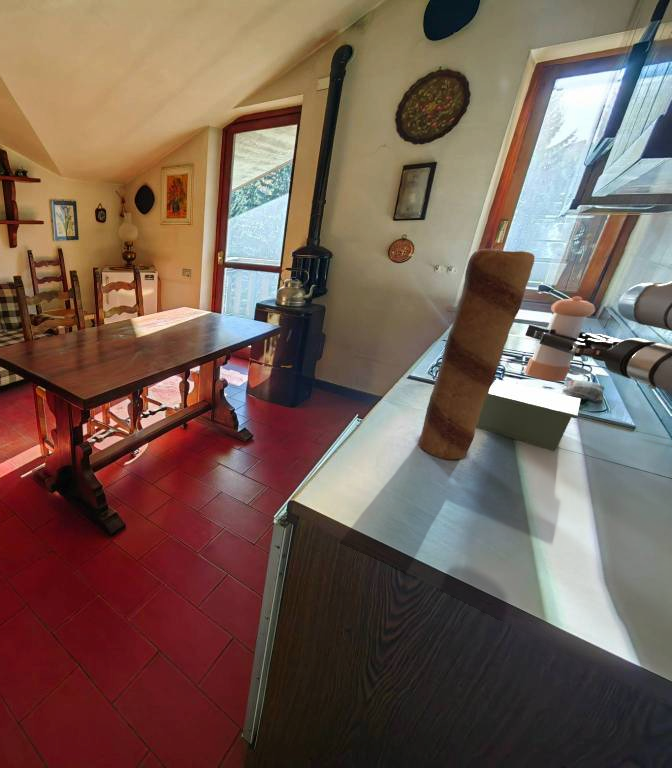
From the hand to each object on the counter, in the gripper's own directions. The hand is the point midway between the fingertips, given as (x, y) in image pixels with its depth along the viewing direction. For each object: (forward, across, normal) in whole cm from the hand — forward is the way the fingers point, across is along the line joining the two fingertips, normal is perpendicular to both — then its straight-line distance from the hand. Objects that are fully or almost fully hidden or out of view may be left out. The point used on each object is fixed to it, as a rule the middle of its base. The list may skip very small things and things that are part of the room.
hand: (541, 330), depth 95 cm
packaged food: (+20, +38, -26) cm, 50 cm away
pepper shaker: (-5, 0, -10) cm, 11 cm away
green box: (-3, +1, -26) cm, 26 cm away
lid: (-4, +1, -17) cm, 17 cm away
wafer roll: (-15, -26, -26) cm, 40 cm away
